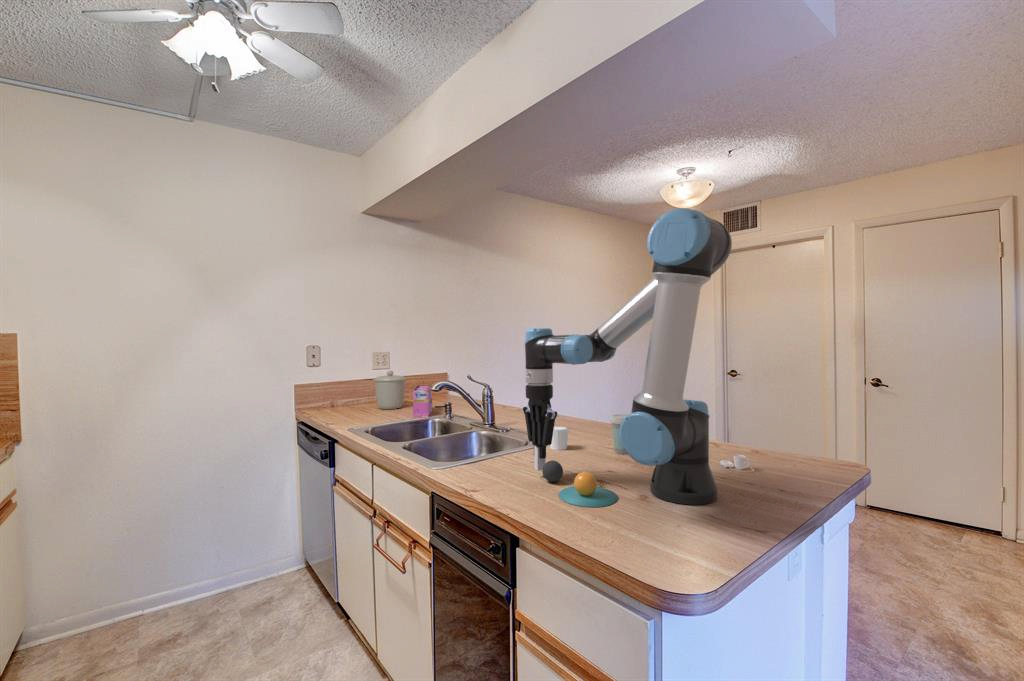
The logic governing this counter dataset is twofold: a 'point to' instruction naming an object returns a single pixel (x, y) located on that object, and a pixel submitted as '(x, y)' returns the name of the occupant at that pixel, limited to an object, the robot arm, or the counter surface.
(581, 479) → the orange ball
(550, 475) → the dark gray ball
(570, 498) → the teal mark
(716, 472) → the counter surface
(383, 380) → the canister
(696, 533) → the counter surface
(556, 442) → the white tapered cylinder
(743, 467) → the teacup and saucer
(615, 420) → the coffee cup
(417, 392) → the gum box
